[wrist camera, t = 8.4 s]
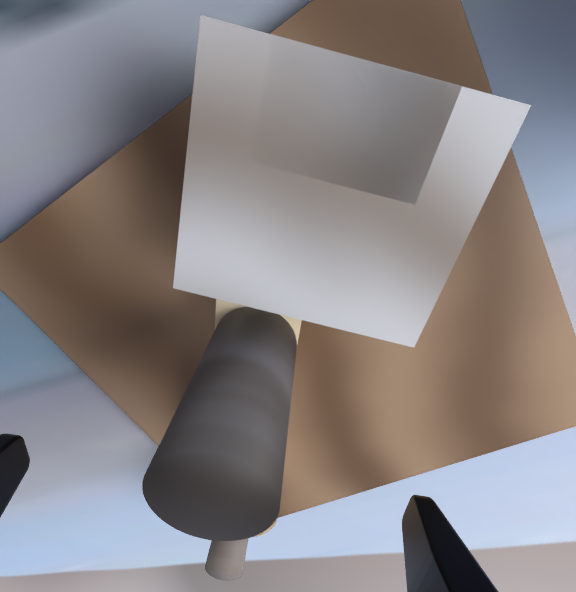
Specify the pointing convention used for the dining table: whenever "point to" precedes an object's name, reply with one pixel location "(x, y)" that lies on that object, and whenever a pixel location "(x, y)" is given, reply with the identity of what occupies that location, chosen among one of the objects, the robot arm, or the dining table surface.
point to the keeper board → (335, 370)
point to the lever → (229, 437)
